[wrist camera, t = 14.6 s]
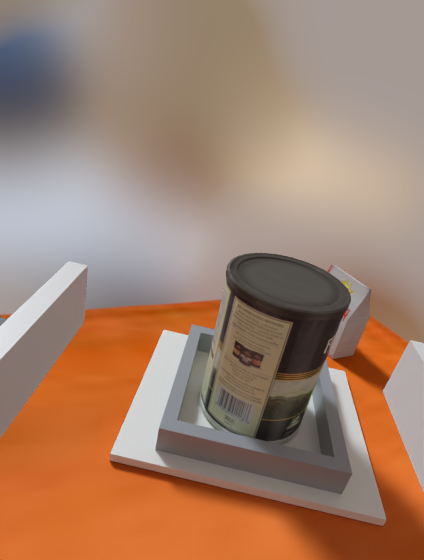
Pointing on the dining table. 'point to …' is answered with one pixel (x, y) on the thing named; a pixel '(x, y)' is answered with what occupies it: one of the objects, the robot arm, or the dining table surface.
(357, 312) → the white printed box
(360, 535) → the dining table surface
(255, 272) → the coffee can
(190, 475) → the caddy
